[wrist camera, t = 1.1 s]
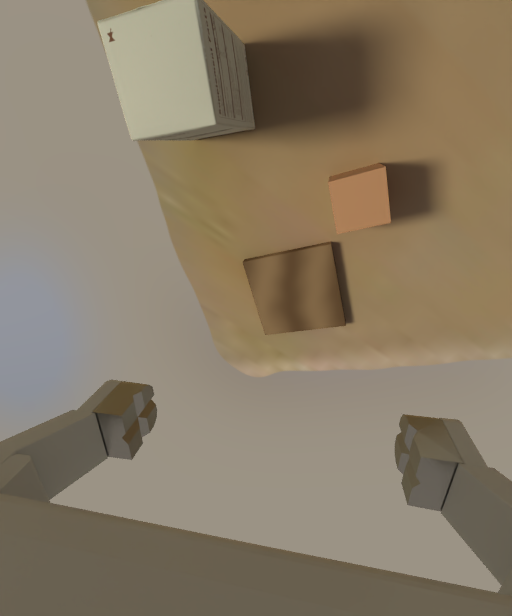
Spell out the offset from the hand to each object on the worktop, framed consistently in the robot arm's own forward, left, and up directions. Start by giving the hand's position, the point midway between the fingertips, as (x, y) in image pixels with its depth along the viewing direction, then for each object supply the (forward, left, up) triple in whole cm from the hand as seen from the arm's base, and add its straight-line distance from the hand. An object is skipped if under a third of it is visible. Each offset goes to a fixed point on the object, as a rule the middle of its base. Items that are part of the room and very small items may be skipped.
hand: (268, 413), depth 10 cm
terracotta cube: (-4, -1, -29) cm, 30 cm away
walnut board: (+5, +9, -29) cm, 31 cm away
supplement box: (+8, -15, -30) cm, 34 cm away
